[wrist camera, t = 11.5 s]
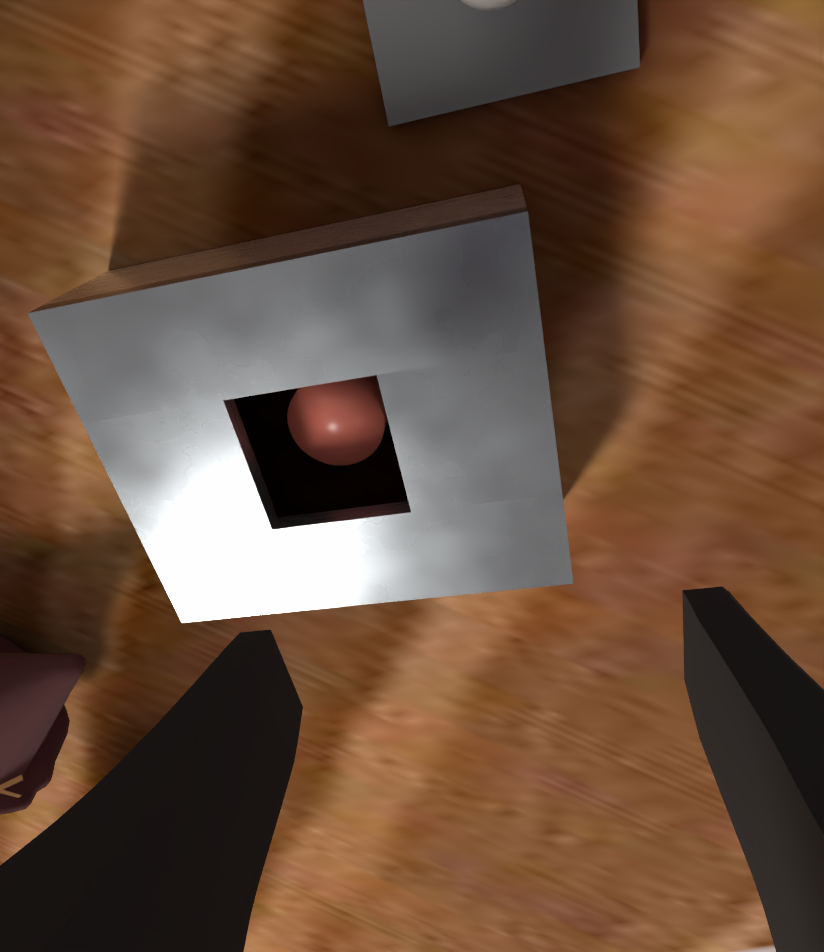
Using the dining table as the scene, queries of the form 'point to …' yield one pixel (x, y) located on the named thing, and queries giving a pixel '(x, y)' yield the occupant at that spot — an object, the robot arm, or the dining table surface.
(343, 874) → the dining table surface
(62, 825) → the robot arm
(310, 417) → the button
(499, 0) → the white rounded rod
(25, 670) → the icecream
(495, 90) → the coaster
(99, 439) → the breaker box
